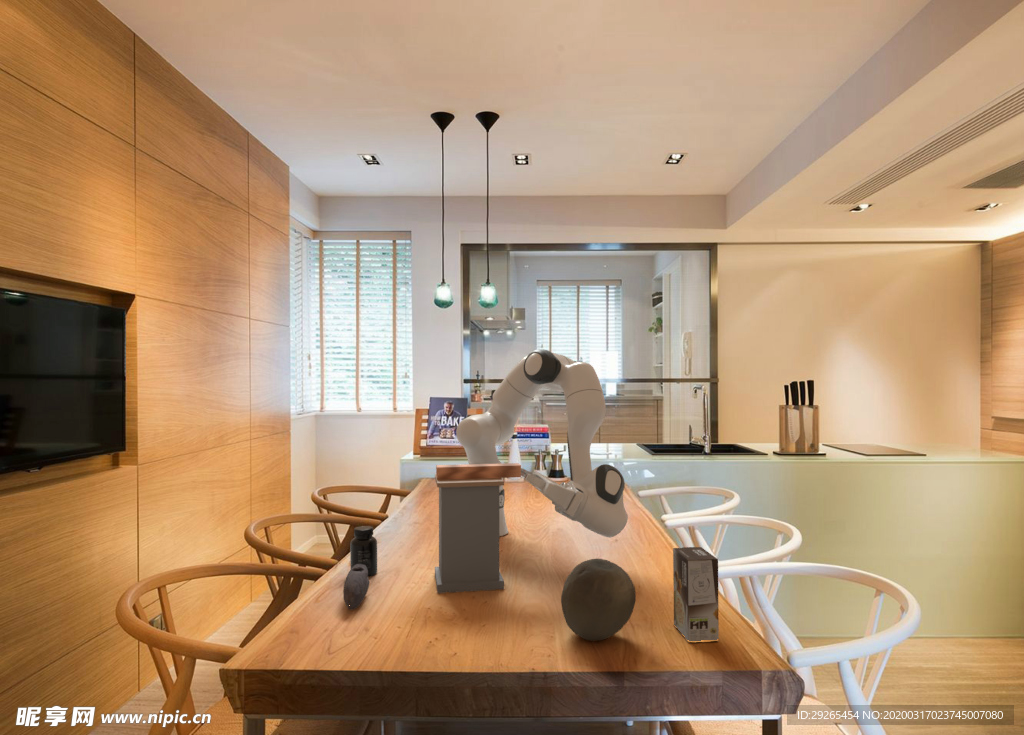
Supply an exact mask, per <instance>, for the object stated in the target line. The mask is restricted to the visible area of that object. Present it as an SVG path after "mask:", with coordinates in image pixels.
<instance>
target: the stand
mask: <svg viewBox="0 0 1024 735" xmlns="http://www.w3.org/2000/svg"><path fill="white" fill-rule="evenodd" d="M434 479H435V483H436V487H437V488H438V566H434V578H435V587H436V593H437V594H444V593H445V594H446V592H449V593H462V592H463V593H464V591H466V592H478V591H479V592H480V590H483V591H496V590H495V589H500V590H505V580H504V578H503V575H502V573H501V572H500V536H499V486H501V485H503V486H505V481H504V479H503V480H502V479H501V478H480V479H445V480H437V478H436V473H434Z"/></svg>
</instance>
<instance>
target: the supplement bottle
mask: <svg viewBox="0 0 1024 735" xmlns="http://www.w3.org/2000/svg"><path fill="white" fill-rule="evenodd" d="M353 532H354V533H353V536H354V538H352V539H351V541H350V543H349V544H350V545H349V548H350V549H349V550H350V555H349V556H350V569H351V568H352V567H353V566H354V565H356V564H363V565H366V568H367V570H368V578H370V577H373V576H375V575H376V574H378V540H377V538H376V537H374V536H373V535H374V527H373V526H372V525H371V526H370V525H361V526H356V527H354V529H353Z"/></svg>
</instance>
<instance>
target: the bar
mask: <svg viewBox="0 0 1024 735" xmlns="http://www.w3.org/2000/svg"><path fill="white" fill-rule="evenodd" d="M435 465H436V466H435V470H436V472H435V474H436V478H437V480H445V479H480V478H503V479H509V478H510V479H512V478H513V479H514V478H522V476H521V468H522V464H520V463H519V462H518V463H517V462H515V463H514V462H512V463H511V462H510V463H508V462H507V463H502V464H469V463H468V464H466V463H465V464H435Z"/></svg>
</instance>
